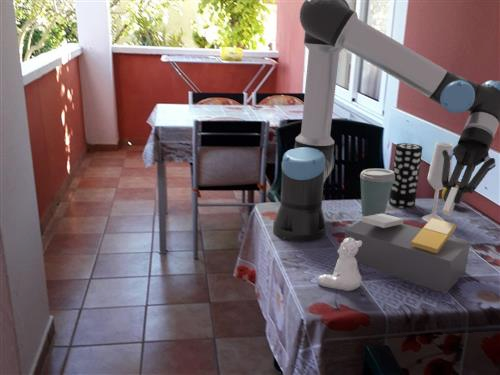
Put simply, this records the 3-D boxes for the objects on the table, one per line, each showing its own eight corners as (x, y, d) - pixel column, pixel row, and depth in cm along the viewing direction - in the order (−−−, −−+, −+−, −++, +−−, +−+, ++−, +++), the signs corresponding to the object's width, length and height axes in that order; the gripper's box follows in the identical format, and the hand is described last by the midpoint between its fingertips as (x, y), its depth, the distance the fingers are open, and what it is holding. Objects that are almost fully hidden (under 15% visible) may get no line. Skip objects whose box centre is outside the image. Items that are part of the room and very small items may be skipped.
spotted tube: (414, 201, 169) (422, 144, 163) (414, 209, 162) (422, 150, 155) (389, 198, 172) (396, 142, 165) (388, 206, 164) (395, 147, 158)
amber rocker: (431, 221, 122) (431, 217, 122) (456, 228, 119) (456, 223, 118) (411, 245, 115) (411, 240, 114) (437, 253, 111) (437, 248, 110)
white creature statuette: (340, 271, 120) (345, 225, 116) (371, 285, 114) (376, 237, 110) (315, 284, 114) (319, 236, 110) (345, 299, 108) (350, 248, 104)
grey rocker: (381, 218, 131) (382, 213, 131) (402, 223, 127) (404, 218, 127) (361, 221, 122) (362, 216, 121) (384, 227, 118) (385, 222, 118)
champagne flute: (449, 221, 152) (461, 145, 145) (432, 224, 150) (443, 147, 142) (433, 214, 158) (444, 140, 151) (417, 216, 156) (427, 142, 148)
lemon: (437, 202, 169) (441, 180, 167) (453, 202, 170) (456, 179, 167) (445, 208, 164) (448, 185, 162) (461, 207, 165) (464, 185, 162)
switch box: (368, 241, 137) (371, 214, 134) (465, 271, 121) (470, 241, 118) (342, 258, 126) (345, 229, 124) (445, 293, 111) (450, 261, 108)
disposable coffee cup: (350, 217, 154) (355, 171, 149) (362, 207, 162) (366, 163, 158) (384, 225, 148) (389, 177, 144) (394, 214, 157) (400, 169, 152)
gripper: (506, 147, 126) (476, 226, 118) (453, 139, 133) (422, 213, 126) (504, 129, 120) (473, 212, 113) (450, 122, 128) (417, 199, 121)
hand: (446, 212), depth 119 cm, fingers closed
